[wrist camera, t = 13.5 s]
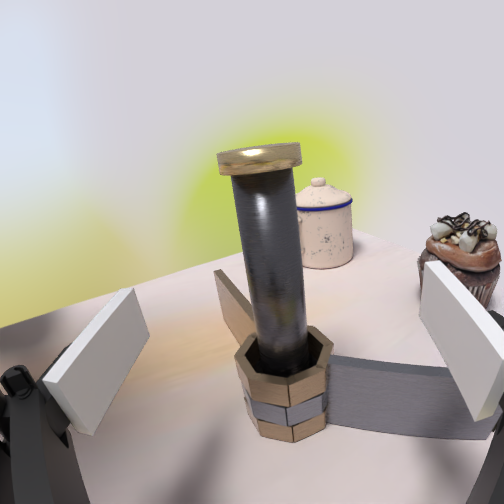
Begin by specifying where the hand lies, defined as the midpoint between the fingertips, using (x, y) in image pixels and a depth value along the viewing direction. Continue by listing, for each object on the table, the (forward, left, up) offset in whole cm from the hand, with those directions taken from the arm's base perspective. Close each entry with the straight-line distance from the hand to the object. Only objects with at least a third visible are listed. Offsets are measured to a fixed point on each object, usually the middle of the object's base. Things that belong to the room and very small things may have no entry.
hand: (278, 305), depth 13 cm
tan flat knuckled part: (-10, +1, -12) cm, 15 cm away
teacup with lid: (-26, +17, -12) cm, 33 cm away
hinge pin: (-3, +1, -12) cm, 12 cm away
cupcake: (-5, +23, -12) cm, 26 cm away
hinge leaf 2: (+1, +5, -12) cm, 13 cm away
